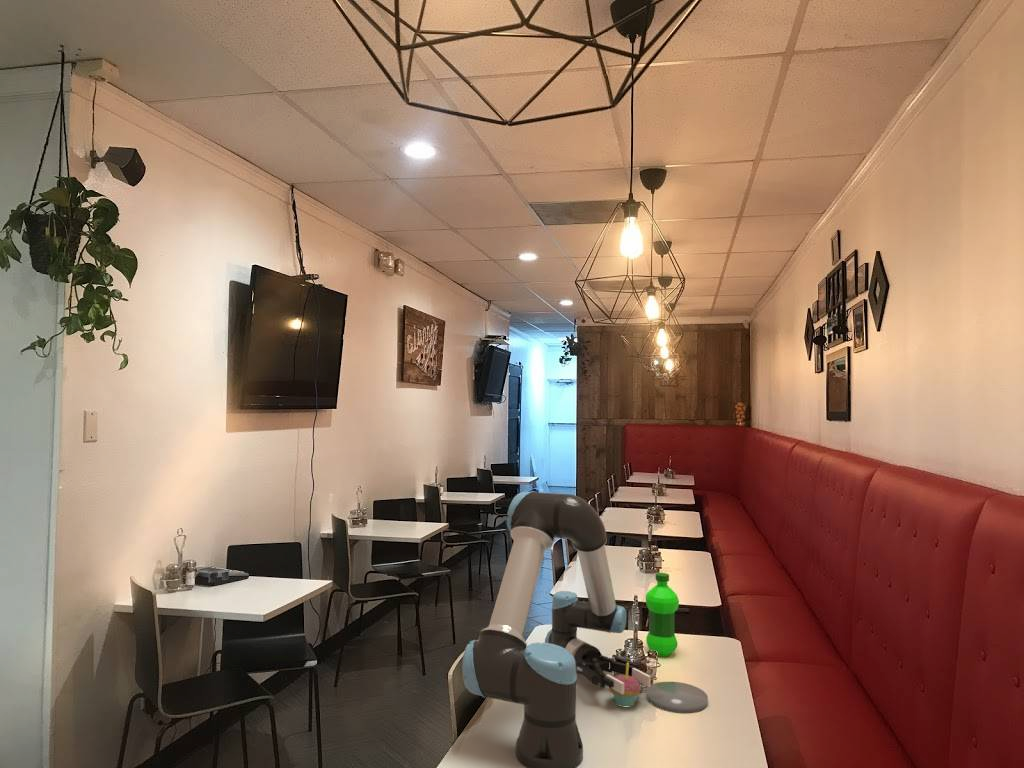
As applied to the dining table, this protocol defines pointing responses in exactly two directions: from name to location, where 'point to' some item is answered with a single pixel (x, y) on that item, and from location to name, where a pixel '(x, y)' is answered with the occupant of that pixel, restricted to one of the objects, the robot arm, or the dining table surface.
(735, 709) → the dining table surface
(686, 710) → the slate plate
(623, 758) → the dining table surface
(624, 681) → the cupcake
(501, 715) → the dining table surface
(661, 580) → the plastic bottle
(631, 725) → the dining table surface
